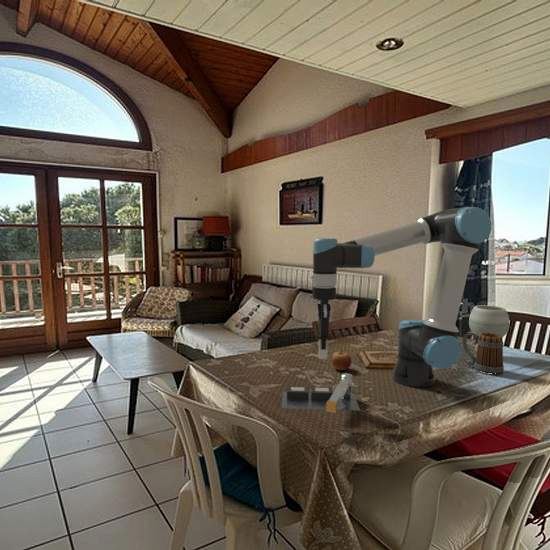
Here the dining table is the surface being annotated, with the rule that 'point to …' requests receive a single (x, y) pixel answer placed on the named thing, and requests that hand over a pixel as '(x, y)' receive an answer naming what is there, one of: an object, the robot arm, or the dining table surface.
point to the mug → (486, 352)
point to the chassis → (321, 402)
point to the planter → (489, 320)
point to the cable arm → (339, 393)
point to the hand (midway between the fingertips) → (322, 358)
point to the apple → (341, 360)
